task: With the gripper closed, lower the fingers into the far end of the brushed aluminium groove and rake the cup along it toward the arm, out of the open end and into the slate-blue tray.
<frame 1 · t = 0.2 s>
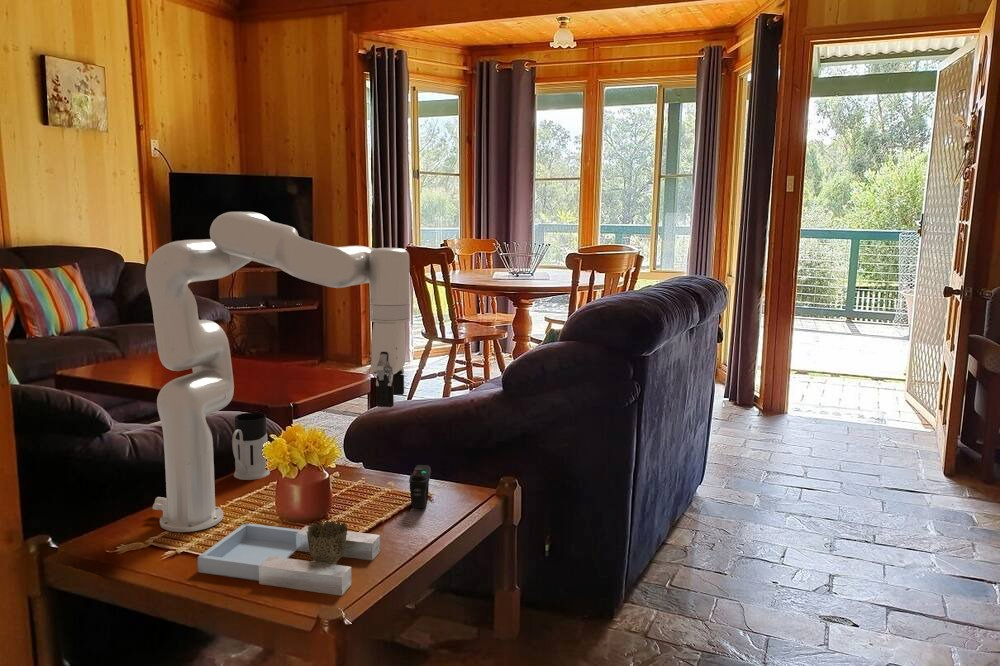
hand: (390, 400, 147), 31 cm above the table, tool pointing down, fingers open, 9 cm apart
controller: (420, 505, 174), on the table
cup: (327, 568, 142), on the table
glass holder: (247, 478, 188), on the table
tray: (253, 557, 146), on the table
groove rails: (322, 567, 143), on the table
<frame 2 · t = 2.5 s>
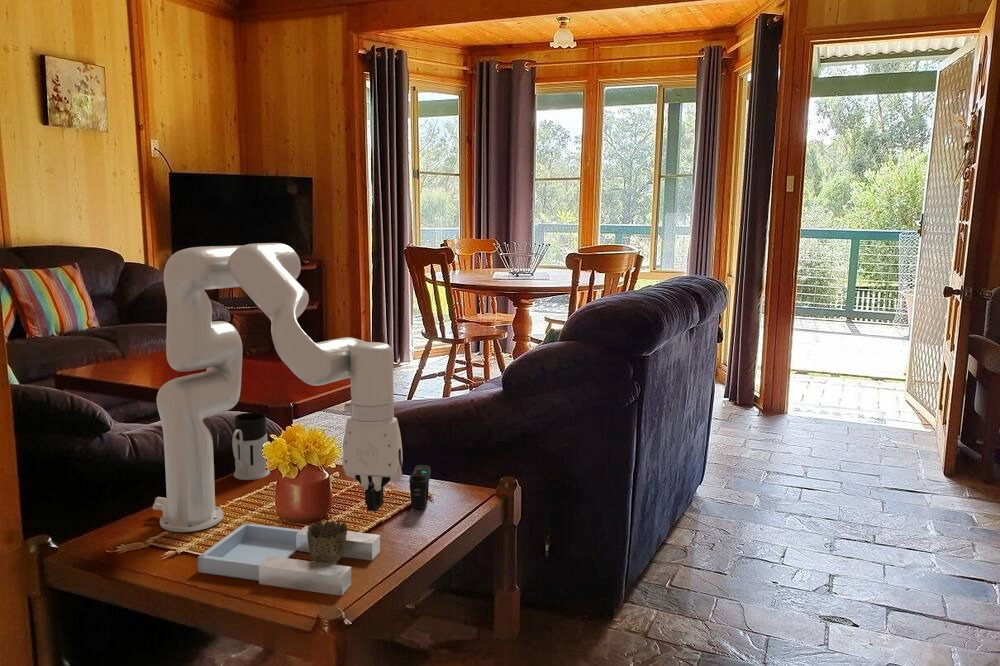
hand: (374, 508, 138), 13 cm above the table, tool pointing down, fingers closed
nothing on the table moved.
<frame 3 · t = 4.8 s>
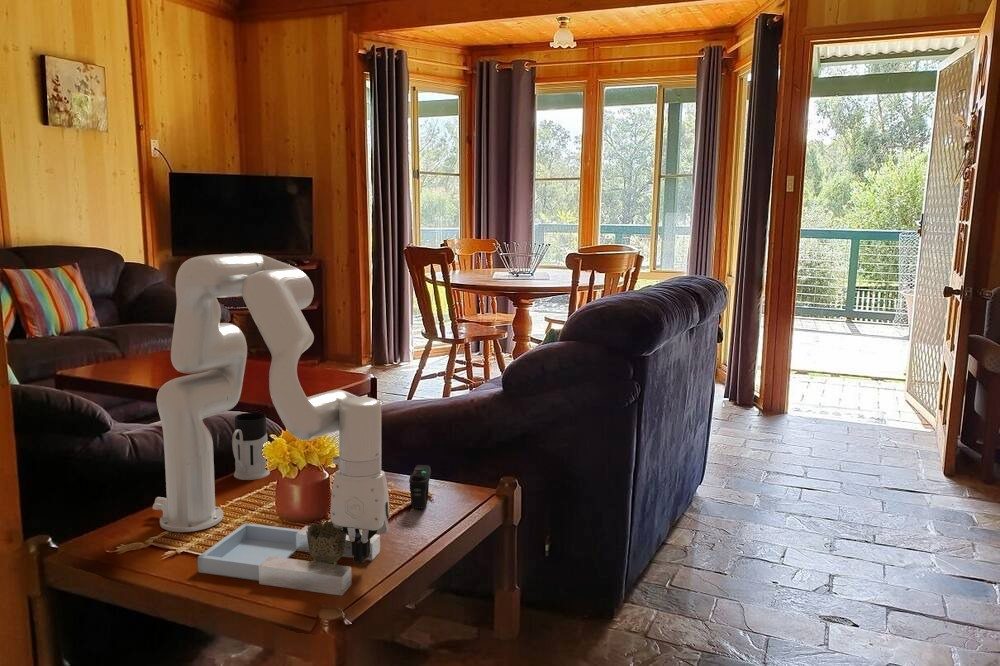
hand: (361, 559, 141), 3 cm above the table, tool pointing down, fingers closed
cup: (327, 568, 142), on the table, touching gripper
everything else where it was.
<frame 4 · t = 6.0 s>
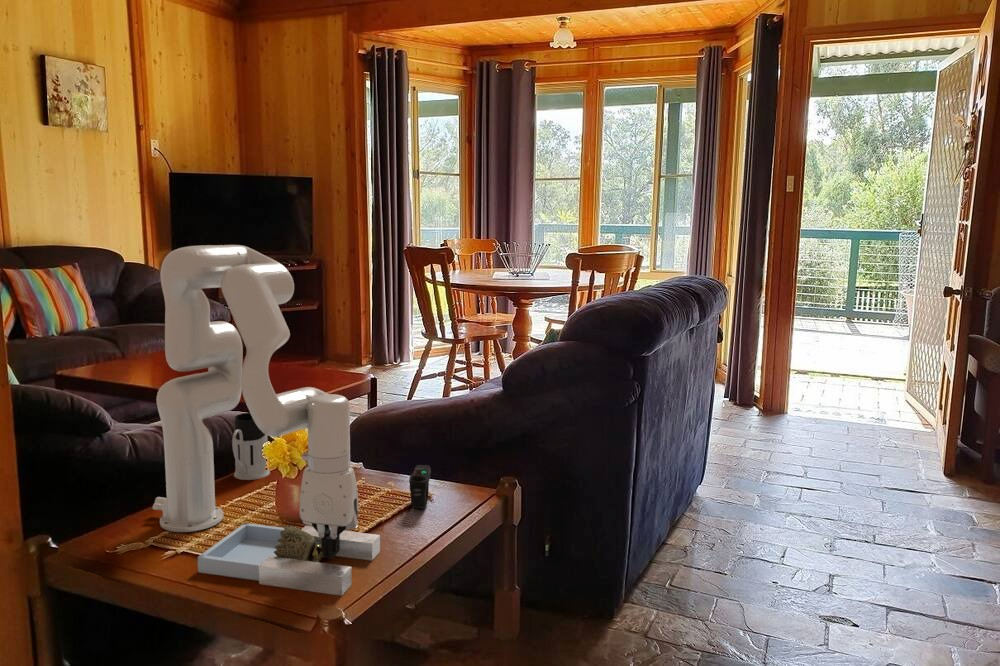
hand: (330, 555, 142), 3 cm above the table, tool pointing down, fingers closed
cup: (321, 555, 143), point 2 cm above the table, touching gripper
everything else where it was.
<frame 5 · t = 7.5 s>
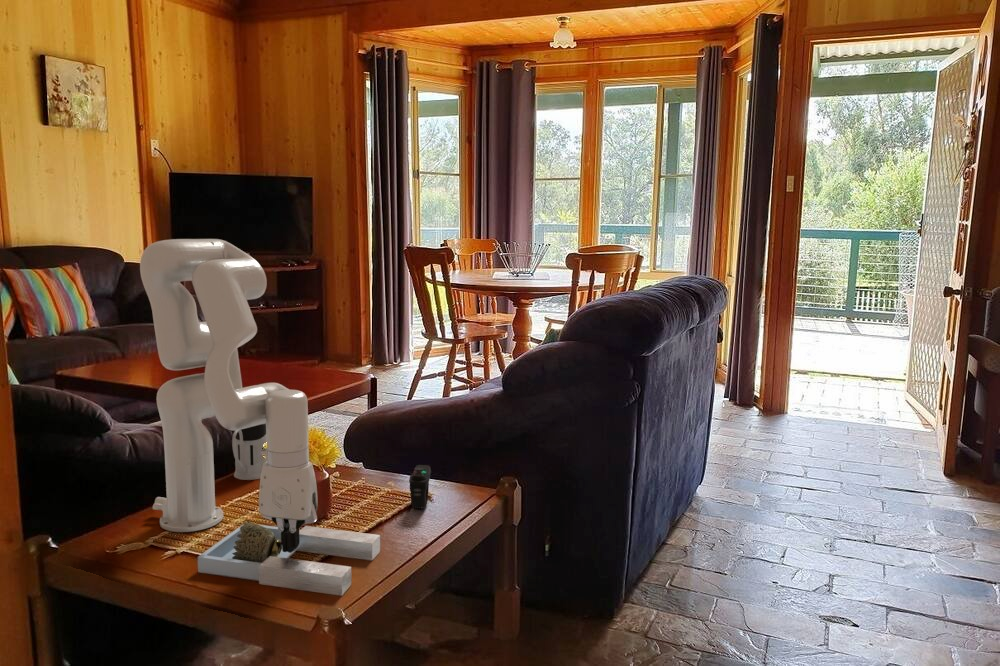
hand: (290, 549, 143), 3 cm above the table, tool pointing down, fingers closed
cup: (281, 550, 144), point 2 cm above the table, touching gripper, tray
everything else where it was.
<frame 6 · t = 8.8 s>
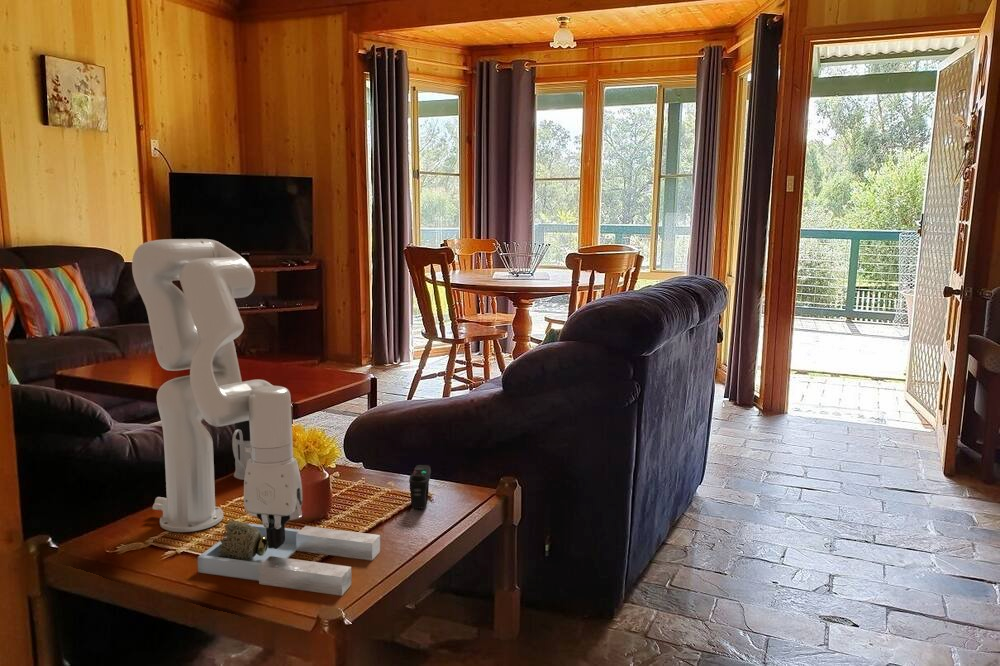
hand: (276, 545, 144), 3 cm above the table, tool pointing down, fingers closed
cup: (267, 547, 144), point 3 cm above the table, touching gripper, tray
everything else where it was.
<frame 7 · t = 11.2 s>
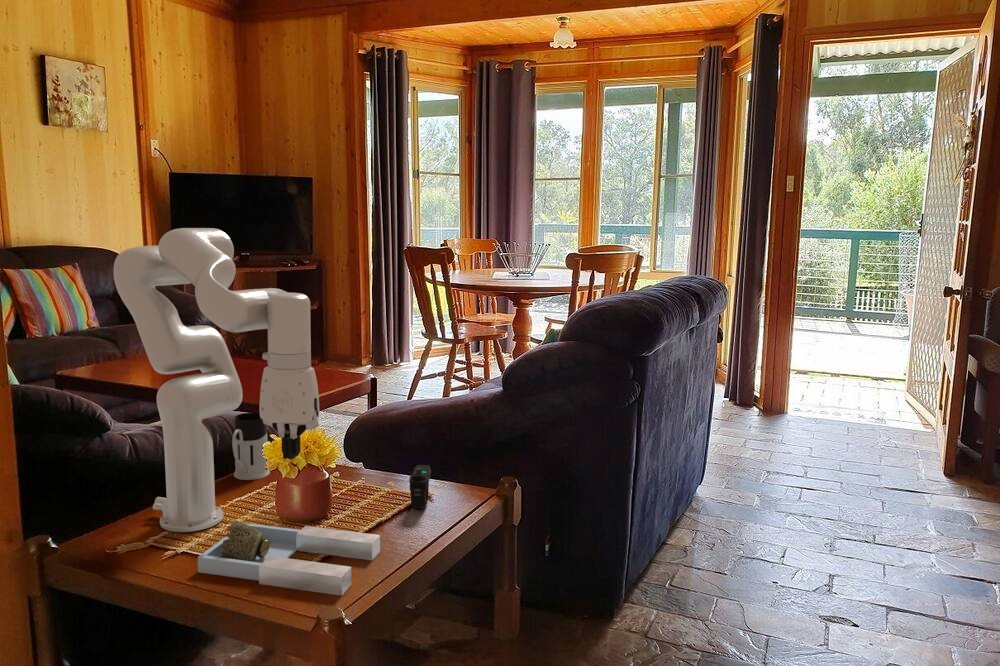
hand: (291, 456, 141), 21 cm above the table, tool pointing down, fingers closed
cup: (269, 549, 144), point 2 cm above the table, touching tray
everything else where it was.
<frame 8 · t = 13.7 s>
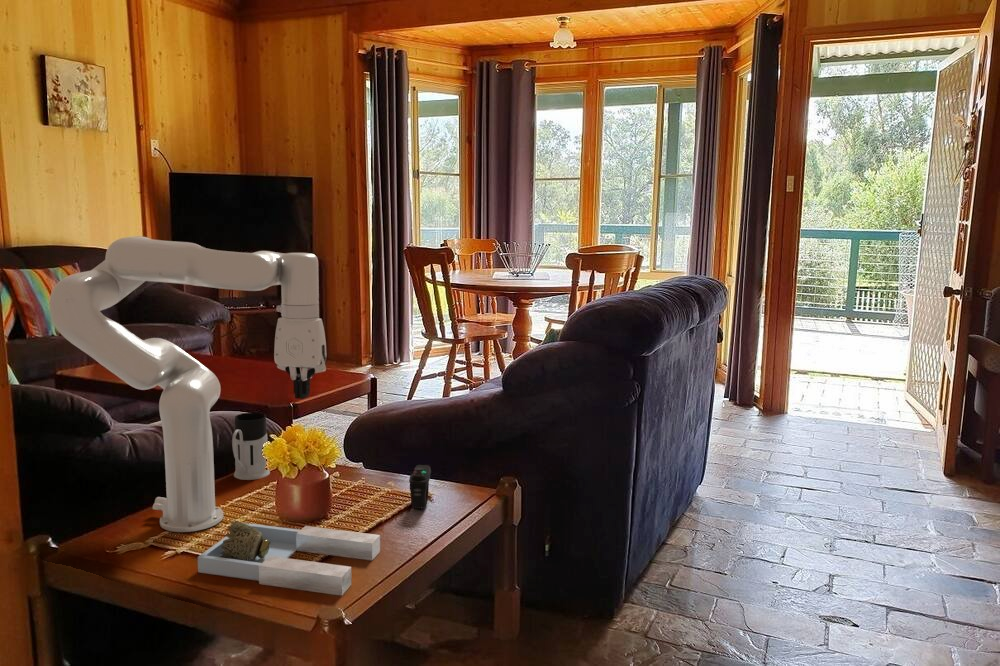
hand: (301, 397, 161), 27 cm above the table, tool pointing down, fingers closed
nothing on the table moved.
at the end: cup inside the target area (3.1 cm from its centre), point 2.1 cm above the table; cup moved 12.1 cm from its start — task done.
